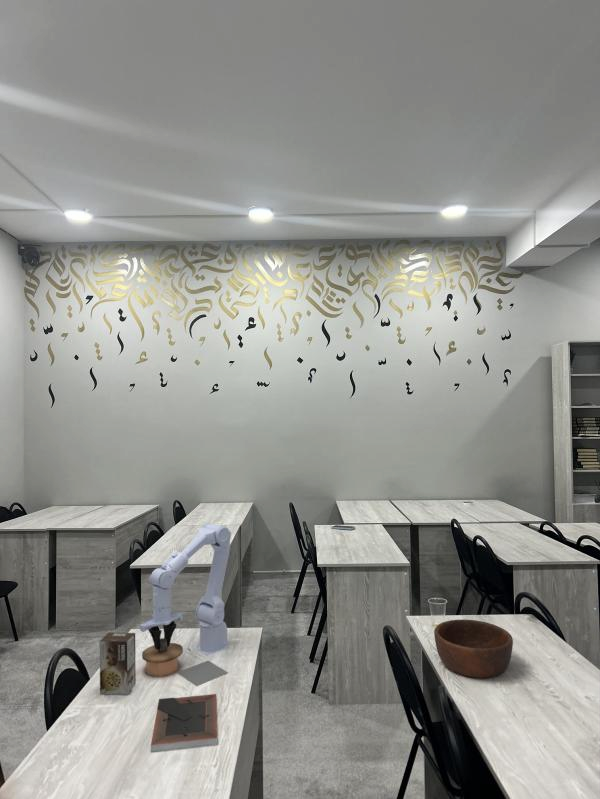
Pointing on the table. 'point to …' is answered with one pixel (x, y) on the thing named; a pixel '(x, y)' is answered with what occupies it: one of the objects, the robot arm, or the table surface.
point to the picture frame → (185, 723)
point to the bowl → (161, 667)
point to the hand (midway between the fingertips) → (162, 647)
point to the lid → (162, 652)
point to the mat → (202, 673)
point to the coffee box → (117, 663)
